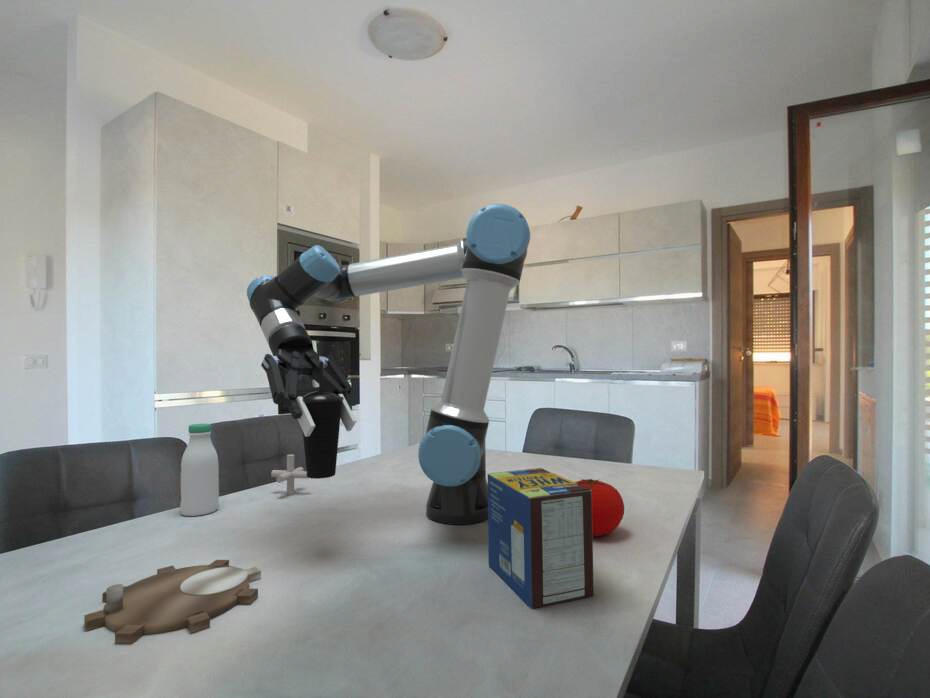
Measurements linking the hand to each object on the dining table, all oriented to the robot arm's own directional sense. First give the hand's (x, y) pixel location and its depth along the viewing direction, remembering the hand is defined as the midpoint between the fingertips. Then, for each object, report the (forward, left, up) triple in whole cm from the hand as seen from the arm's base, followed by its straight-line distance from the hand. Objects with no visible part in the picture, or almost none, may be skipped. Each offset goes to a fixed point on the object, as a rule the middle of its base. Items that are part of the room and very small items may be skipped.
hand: (331, 428), depth 83 cm
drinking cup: (+3, -2, -9) cm, 9 cm away
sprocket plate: (+18, +13, -23) cm, 32 cm away
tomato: (-47, -16, -23) cm, 55 cm away
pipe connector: (+25, -42, -23) cm, 54 cm away
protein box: (-34, +5, -23) cm, 42 cm away
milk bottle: (+40, -27, -23) cm, 53 cm away
